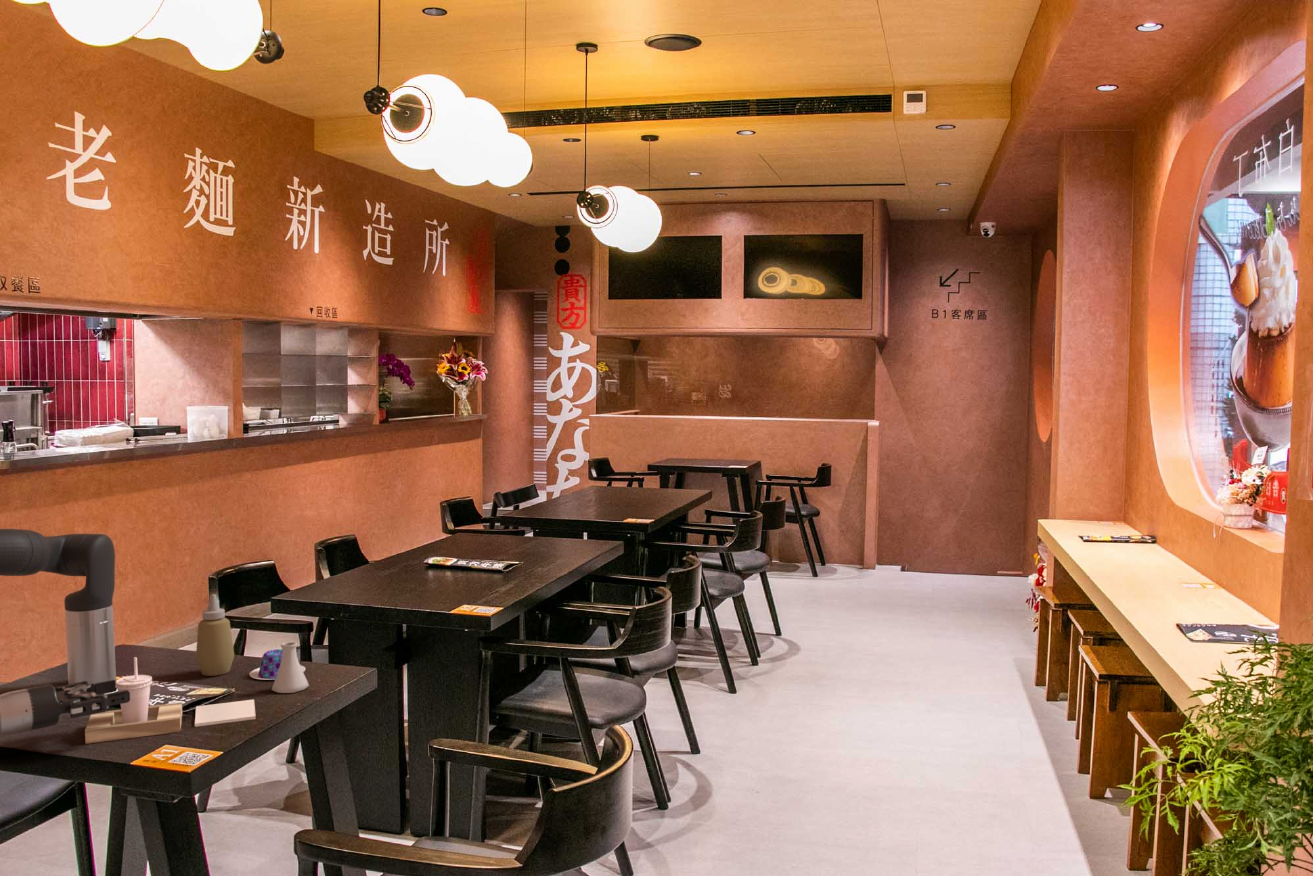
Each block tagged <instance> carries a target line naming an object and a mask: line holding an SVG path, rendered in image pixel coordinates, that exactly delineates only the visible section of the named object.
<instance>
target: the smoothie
mask: <svg viewBox="0 0 1313 876" xmlns="http://www.w3.org/2000/svg"><path fill="white" fill-rule="evenodd" d="M133 669H134V670H133V673H134V674H133V675H127V676H124V677H121V678H119V679H118V678H117V679H116V682H115V683H116V686H115V687H116V688H117V692H119V691H124V690H128V691H129V692H130V701H129V702H127V703H122V704H119V705H120V710H122V716H123V721H124V724H126V723H134V722H142V721H147V717H148V706H150V705H149V704H150V695H151V694H150V693H151V685H152V684H153V677H152V676H151V675H147V674H139V673H138V670H139V669H138V657H137V656H135V657H133Z"/></svg>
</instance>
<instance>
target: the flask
mask: <svg viewBox="0 0 1313 876" xmlns="http://www.w3.org/2000/svg"><path fill="white" fill-rule="evenodd" d="M297 646H298V642H296V641H287V642H283V643H281V644H280V647H281V649H282V660H281V664H280V667H279V670H278V673H277V676H276V679H275V680H274V682H273V685H272V688H271V691H273V692H276V693H278V694H279V693H280V694H294V693H297V692H302V691H304V690H305V689H307V688H308V687H309V686H310V684H309V681H308V679H307V678H306V676H305V673H304V672H303V671H302V668H301V666H302V665H301V664H300V661H299V659H298V655H297V654H298V653H297ZM300 665H301V666H300Z"/></svg>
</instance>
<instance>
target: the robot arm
mask: <svg viewBox="0 0 1313 876" xmlns="http://www.w3.org/2000/svg"><path fill="white" fill-rule="evenodd" d="M115 551H116V550H115V547H114V542H113V540H112V539H111V537H110V536H108V535H107V534H102V533H71V534H70V533H69V534H62V535H52V536H44V535H43V534H42V533H39V532H37V531H35V530H29V529H19V528H18V529H17V528H0V576H2V577H3V576H4V577H25V576H33V575H36V574H37V573H39V572H45V573H51V574H57V575H62V576H66V577H85V584H84V587H83V588H82V589H79V590H76V591H73V592H71V593H69V594H67V595H66V596H65V598H64V602H63V603H64V617H65V636H66V637H65V639H66V641H65V642H66V661H67V680H68V684H65V685H61V686H60V685H59V686H54V685H53V684H49V683H48V684H44V685H37V686H33V687H28V688H23V689H16V690H13V691H8V692H5V693H2V694H0V737H1V736H8V735H15V734H16V735H17V734H21V733H24V732H29V731H36V730H38V729H43V728H48V727H53V726H56V725H57V724H58V723H59V720H60V715H62V714H69V715H70V716H69V717H70V719H76V718H80V717H85V716H91V715H92V714H97V713H102V712H106V711H108V708H109V707H112V706H117V705H120V704H122V703H127V702H129V701H130V692H129V691H128V690H124V691H119V692H118V689H117V688H116V687H115V686H116V683H115V682H116V681H117V673H116V669H117V668H116V652H115V651H116V648H115V628H114V626H115V625H114V608H113V607H114V605H113V603H114V602H113V598H114V592H115V586H116V585H115V583H116V582H115V581H116V580H115V578H116V575H115V573H116V569H115V568H116V567H115V566H116V552H115Z"/></svg>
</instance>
